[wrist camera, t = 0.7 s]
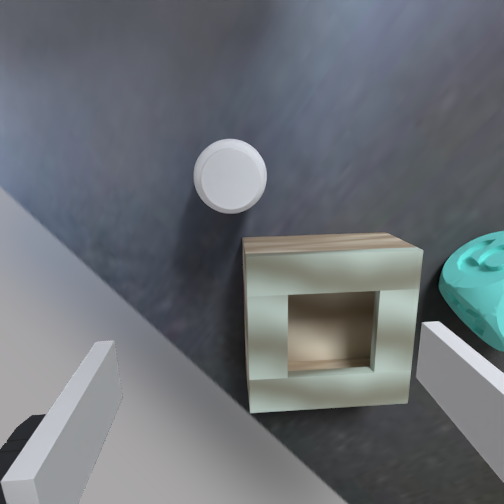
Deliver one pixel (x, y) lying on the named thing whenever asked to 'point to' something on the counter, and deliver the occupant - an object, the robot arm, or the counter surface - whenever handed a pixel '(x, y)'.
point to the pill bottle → (230, 176)
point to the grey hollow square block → (329, 320)
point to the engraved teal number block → (478, 286)
